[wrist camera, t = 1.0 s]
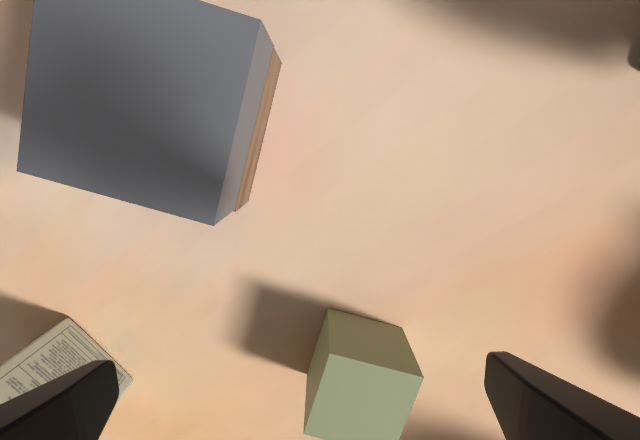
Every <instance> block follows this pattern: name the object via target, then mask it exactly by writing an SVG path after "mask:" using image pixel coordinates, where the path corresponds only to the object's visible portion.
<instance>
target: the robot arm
mask: <svg viewBox="0 0 640 440" xmlns="http://www.w3.org/2000/svg"><path fill="white" fill-rule="evenodd" d="M484 386H485V390H486V394H487V396H488V398H489V401H490V403H491V405H492V408H493V410H494V412H495V415H496V417H497V419H498V422H499V424H500V426H501V429H502V431H503V433H504V436H505V438H506V440H640V417H638V416H636V415H633V414H631V413H629V412H627V411H625V410H623V409H621V408H619V407H617V406H615V405H613V404H611V403H609V402H607V401H605V400H603V399H601V398H599V397H597V396H595V395H593V394H591V393H589V392H587V391H585V390H583V389H581V388H579V387H577V386H575V385H573V384H571V383H569V382H567V381H565V380H563V379H561V378H559V377H557V376H555V375H553V374H551V373H549V372H547V371H545V370H543V369H541V368H539V367H537V366H534V365H532V364H530V363H528V362H526V361H524V360H522V359H520V358H518V357H516V356H514V355H512V354H510V353H508V352H504V351H502V352H490V353H488V355H487V358H486V368H485V379H484ZM118 397H119V383H118V377H117V371H116V366H115V363H114V362H113V361H112V360H94V361H91V362H89V363H87V364H85V365H83V366H81V367H79V368H76V369H74V370H72V371H70V372H68V373H66V374H64V375H62V376H59V377H57V378H55V379H53V380H51V381H49V382H47V383H45V384H42V385H40V386H38V387H36V388H34V389H32V390H30V391H27V392H25V393H23V394H21V395H19V396H17V397H15V398H13V399H10V400H8V401H6V402H4V403H2V404H0V440H98V439H99V437H100V435H101V433H102V431H103V429H104V427H105V425H106V423H107V421H108V419H109V417H110V415H111V413H112V411H113V409H114V407H115V405H116V402H117V400H118Z"/></svg>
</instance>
